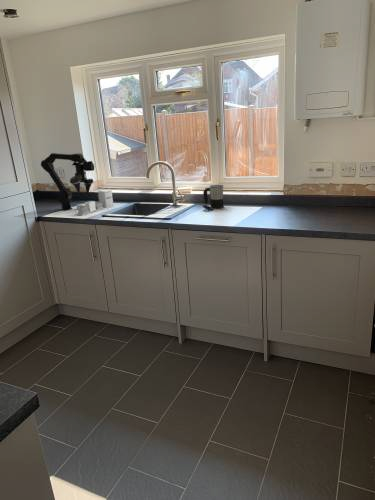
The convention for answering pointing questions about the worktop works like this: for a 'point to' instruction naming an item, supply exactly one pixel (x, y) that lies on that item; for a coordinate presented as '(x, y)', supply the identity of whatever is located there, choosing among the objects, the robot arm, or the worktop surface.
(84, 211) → the rail
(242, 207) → the worktop surface
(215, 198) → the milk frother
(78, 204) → the block
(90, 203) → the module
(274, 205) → the worktop surface
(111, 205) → the supplement box
